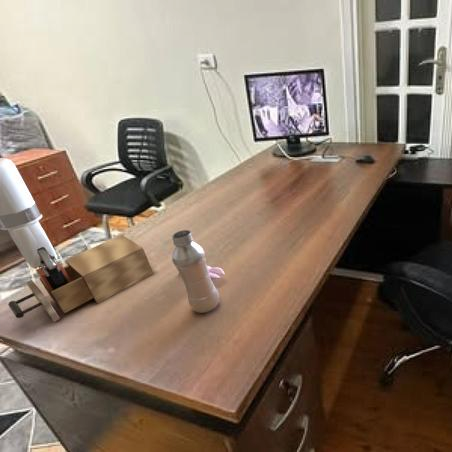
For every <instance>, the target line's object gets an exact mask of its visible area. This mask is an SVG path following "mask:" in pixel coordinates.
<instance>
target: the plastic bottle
mask: <svg viewBox="0 0 452 452" xmlns="http://www.w3.org/2000/svg"><path fill="white" fill-rule="evenodd" d="M171 238H172V241H173V246H175V248H174V250H173V252H172V254H171V259H172V263H173V265H174V267H175V269H176V270H177V271H178V274H179V273H180V275H179V276H181V279H182V281H183V283H184V286H185V290H186V294H187V300H188V304H189V306H190V308H191V309H192V310H193V311H194V312H196V313H199V314H203V313H208V312H210V311H212V310H214V309H215V308H216V307H217V306H218V304H219V303H220V293H219V291H218V289H217V288H216V286H215V284H214V282H213V280H212V278H210V276H209V272H208V269H207V266H208V265H207V259H206V252H205V249H204V248H203V247H202V246H201V245H199V244H198V243H196V242H195V241H194V236H193V235H192V232H191V230H189V229H182V230H179V231H176V232H175V233H173V234H172V236H171Z"/></svg>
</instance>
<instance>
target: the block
mask: <svg viewBox="0 0 452 452" xmlns="http://www.w3.org/2000/svg"><path fill="white" fill-rule="evenodd" d="M55 262H56V263H57V265H58V267H59V268H60V269H61V270H62V272H63V274H64V275H65V277H66V279H67V281H68V282H71V280H70V278H69V277H68V275H67V273H66V271H65V269H64V268H63V267H64V266H63V265H62V264H61V263H60V262H59V261H57V260H55ZM44 267H45V268H47V266H44ZM35 272H36V273H37V275H38V276H39V278H41V280H42V281H43V283H44V285H45V286H46V287H47V288H48V289H49V290H50V291H52V290H53V289H52V287H51V286H50V284H49V282H48V281H47V279H46V277H45V276H46V274H45V273H44V271H43V270H42V268H41V267H40V269H39V268H37V269H35ZM44 285H43V286H44Z"/></svg>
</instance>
